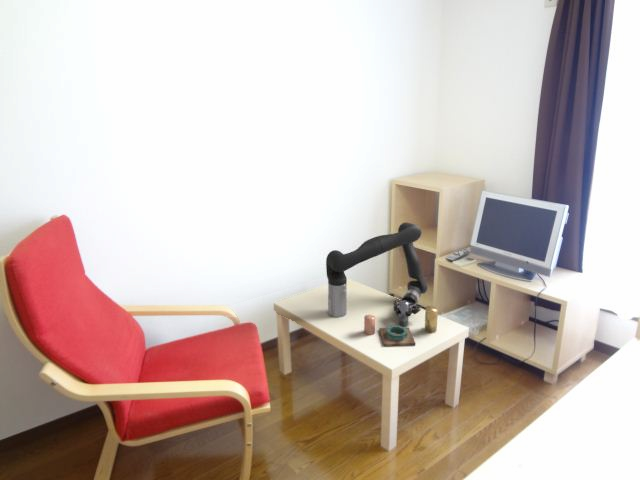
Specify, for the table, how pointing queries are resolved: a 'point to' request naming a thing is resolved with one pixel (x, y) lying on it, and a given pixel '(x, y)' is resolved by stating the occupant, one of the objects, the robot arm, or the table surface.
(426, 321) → the brass peg
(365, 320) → the terracotta peg
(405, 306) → the steel peg
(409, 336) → the ring board
